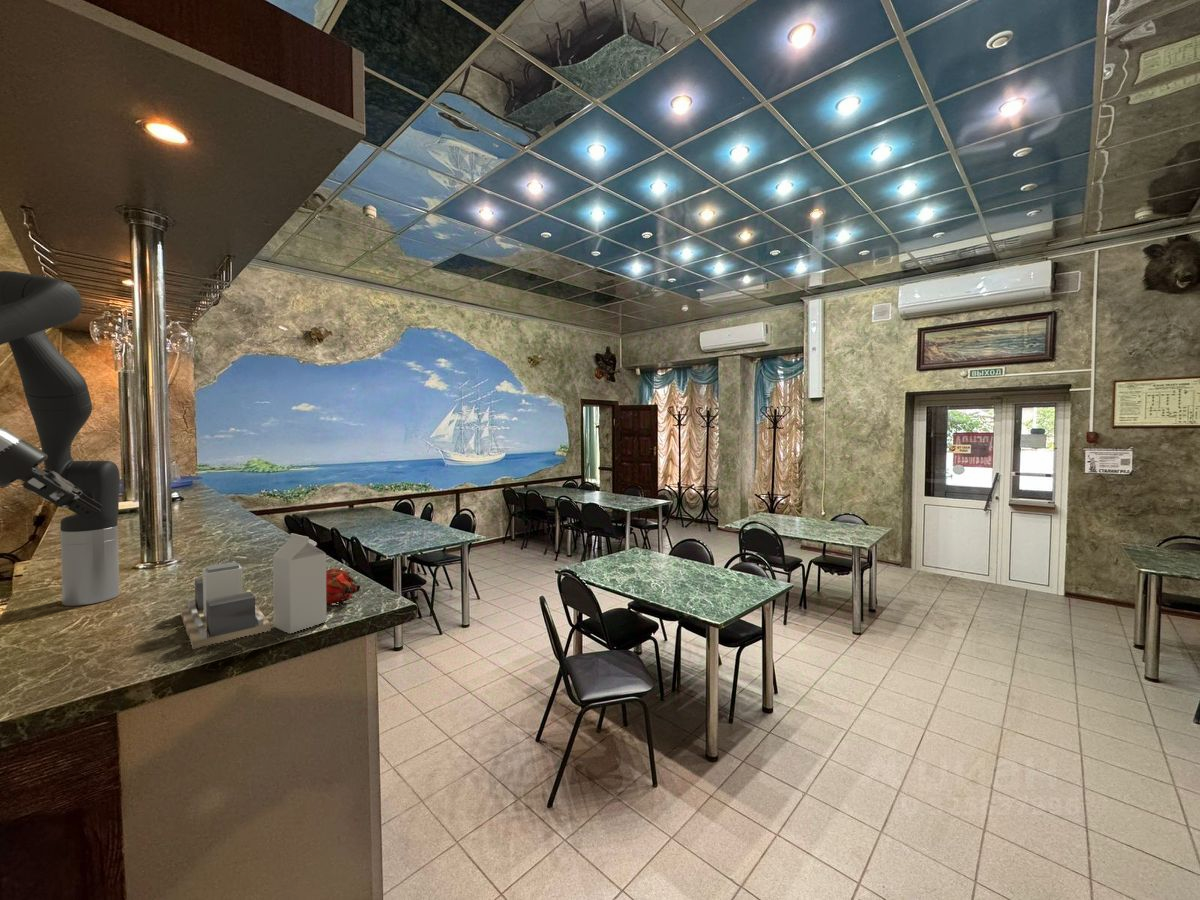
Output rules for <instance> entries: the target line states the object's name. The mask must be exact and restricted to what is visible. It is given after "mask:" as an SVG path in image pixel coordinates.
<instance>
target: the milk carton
mask: <svg viewBox="0 0 1200 900" xmlns="http://www.w3.org/2000/svg"><path fill="white" fill-rule="evenodd" d="M317 545H318V543H317V542H316V541H314V540H313V539H311V538H309V536H306V535H300V534H297V533H291V532H290V538H289V539H288V540H287V541H286V542H285V543H284V544H283V545H282V546H281V547H280V548H279V549H278V550H277V551H276V552H275V553H274V554H273V555H272V585H273V586H272V595H273V596H272V597H273V599H272V600H273V608H272V609H273V628H276V629H278V630H280V631H282V632H285V633H286V632H287V633H286V634H289V633H290V634H289V635H292V634H291V633H293V634H295V633H294V632H296V633H298V632H297V631H299V632H301V631H300V630H302V631H304V630H303V629H305V630H307V629H306V628H308V629H310V628H309V627H311V628H313V627H312V626H314V625H317V624H319V623H322V622H325V621H326V622H327V602H326V571H327V553H326V552H325V551H323V550H322V549H320V548H318V547H316V546H317ZM317 626H318V625H317ZM314 627H315V626H314Z"/></svg>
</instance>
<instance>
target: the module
mask: <svg viewBox="0 0 1200 900" xmlns="http://www.w3.org/2000/svg"><path fill="white" fill-rule="evenodd" d="M202 577H203V614H204V618H205V620H206V623H207V616H206V600H207V599H212V598H217V597H223V596H228V595H233V594H239V593H244V589H243V588H244V587H243V585H244V584H243V581H244V580H243V567H242V566H241V565H240V563H237V561H232V562H231V561H230V562H226V563H219V564H218V563H217V564H212V565H206V567H205V568H202Z"/></svg>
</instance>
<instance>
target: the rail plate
mask: <svg viewBox="0 0 1200 900" xmlns="http://www.w3.org/2000/svg"><path fill="white" fill-rule="evenodd" d="M194 598H195V599H194V600H195V603H194V600H192V599H191V600H188V601H187V606H183V607H180V608H179V610H180V616H181V617H180V618H181V619H182V623H183V625H184V628H186V629H185V632H186V634H187V637H188V636H189V637H188V639H190V640H189V642H191V643H190V645H192V646H191V648H192V650H193V649H194V650H196V649H195V648H198V649H200V648H199V647H202V646H206V647H208V646H207V645H210V646H212V645H211V644H214V645H216V644H215V643H218V644H221V643H220V642H222V643H225V642H224V641H227V642H229V641H228V640H231V641H233V640H232V639H235V640H237V639H236V638H239V639H241V638H240V637H243V638H245V637H244V636H247V637H250V636H249V635H251V636H254V634H255V635H258V633H260V634H263V633H262V632H264V633H267V631H268V632H271V631H272V630H271V629H272V628H271V627H272V624H271V622H270V621H269V620H268V618H267V617H266V615H264V614H263V612H262V611H261V610H260V608H259V607H258V606H257V605H256V597H255V595H254V594H253V593H252V592H251V591H245V592H244V591H243V593H239V594H233V595H228V596H223V597H217V598H212V599H207V600H206V616H207V623H206V620H205V618H204V614H203V576H201V577H197V578H196V577H195V579H194ZM202 648H203V647H202Z"/></svg>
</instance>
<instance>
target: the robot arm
mask: <svg viewBox="0 0 1200 900" xmlns="http://www.w3.org/2000/svg"><path fill="white" fill-rule="evenodd" d="M82 309H83V300H82V297H81V295H80V292H79V291H78V289H76V288H75V286H73V285H72V284H70V283H69V282H67V281H65V280H61V279H59V278H56V277H50V276H45V275H38V274H31V273H25V272H18V271H13V270H12V271H11V270H2V271H1V270H0V346H1V345H3V344H7V343H8V344H9V348H10V350H11V354H12V355H13V359H14V361H15V365H16V367H17V370H18V373H19V377H20V380H21V383H22V387H23V392H24V395H25V398H26V402H27V405H28V408H29V411H30V414H31V416H32V419H33V422H34V424H35V428H36V431H37V434H38V438H39V442H40V446H41V450H40V449H39V448H37V447H36V446H34V445H33V444H31V443H29V442H28V441H26V440H25V439H22V438H21V437H19V436H18V435H17V434H14V433H13V432H12V431H10V430H8V429H7V428H4V427H2V426H0V488H4V487H5V488H6V487H8V486H9V485H11V484H12V483H14V482H16V481H19V480H20V481H22V482H23V483H22V484H21V486H22V487H23V488H25V489H26V490H27V491H29V492H30V493H33V494H34V495H37V496H40V497H41V498H43V500H45V501H47V502H50V503H52V504H53V505H54V506H55V507H57V508H62V509H68V510H69V511H71V512H73V513H75V514H70V515H68V516H65V517H63V518H62V519H61V520H60V525H59V526H60V527H59V528H60V553H61V554H60V555H61V557H60V558H61V596H62V597H61V599H62V600H61V601H62V603H61V604H62V605H63V606H67V607H69V606H70V607H77V606H85V605H92V604H96V603H101V602H105V601H109V600H112V599H114V598H117V597H118V596H120V587H119V586H120V580H119V579H120V575H119V574H120V568H119V530H118V529H119V527H118V526H119V525H118V519H119V511H120V510H119V501H120V500H119V499H120V481H121V477H120V470H119V467H118V465H117V464H116V463H115V462H114V461H110V460H74V459H73V457H72V453H71V450H72V449H71V448H72V443H73V441H74V440H75V438H76V436H77V435H78V433H80V430H81V429H82V428H83V427H84V426H85V424H86V422H87V421H88V420H89V418H90V416H91V414H92V411H93V404H92V399H91V396H90V391H89V387H88V384H87V381H86V379H85V378H84V376H83V375H82V374H81V373H80V372H79V370H78V369H77V368H76V367H75V366H74V365H73V364H72V363H71V362H70V361H69V359H67V358H66V357H65V356H64V355H63V354H62V353H61V352H60V351H59V350H58V349H57V348H56V347H55V346H54V344H53V343H52V342H51V340H50V338H49V336H48V335H47V332H46V330H49V329H53V328H56V327H59V326H62V325H63V326H64V325H65V324H69V323H70V322H72V321H74V320H76V319H77V318H78V317H79V315H80V314H81V312H82ZM42 463H44V464H43V465H44V469H41V468H39V465H40V464H42Z"/></svg>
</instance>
